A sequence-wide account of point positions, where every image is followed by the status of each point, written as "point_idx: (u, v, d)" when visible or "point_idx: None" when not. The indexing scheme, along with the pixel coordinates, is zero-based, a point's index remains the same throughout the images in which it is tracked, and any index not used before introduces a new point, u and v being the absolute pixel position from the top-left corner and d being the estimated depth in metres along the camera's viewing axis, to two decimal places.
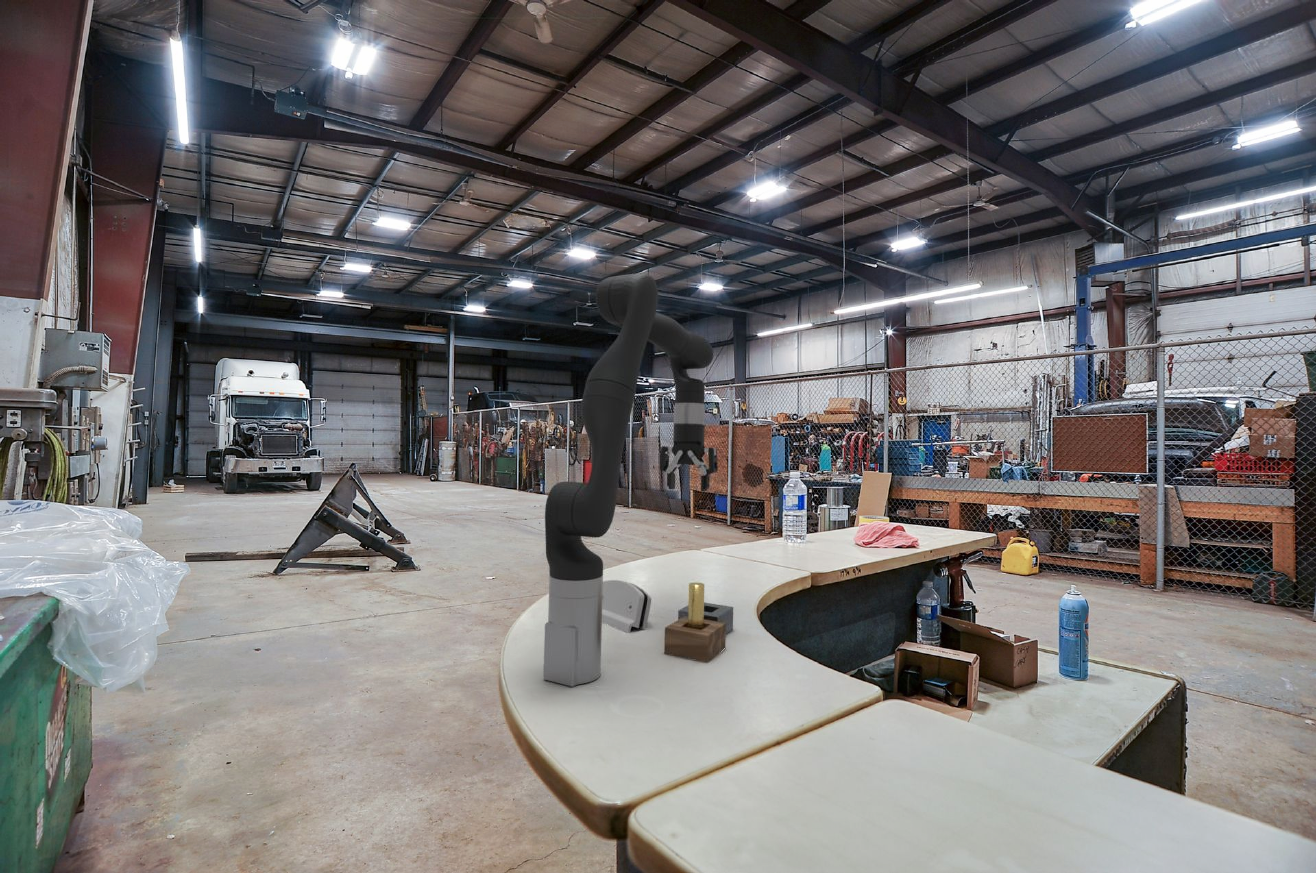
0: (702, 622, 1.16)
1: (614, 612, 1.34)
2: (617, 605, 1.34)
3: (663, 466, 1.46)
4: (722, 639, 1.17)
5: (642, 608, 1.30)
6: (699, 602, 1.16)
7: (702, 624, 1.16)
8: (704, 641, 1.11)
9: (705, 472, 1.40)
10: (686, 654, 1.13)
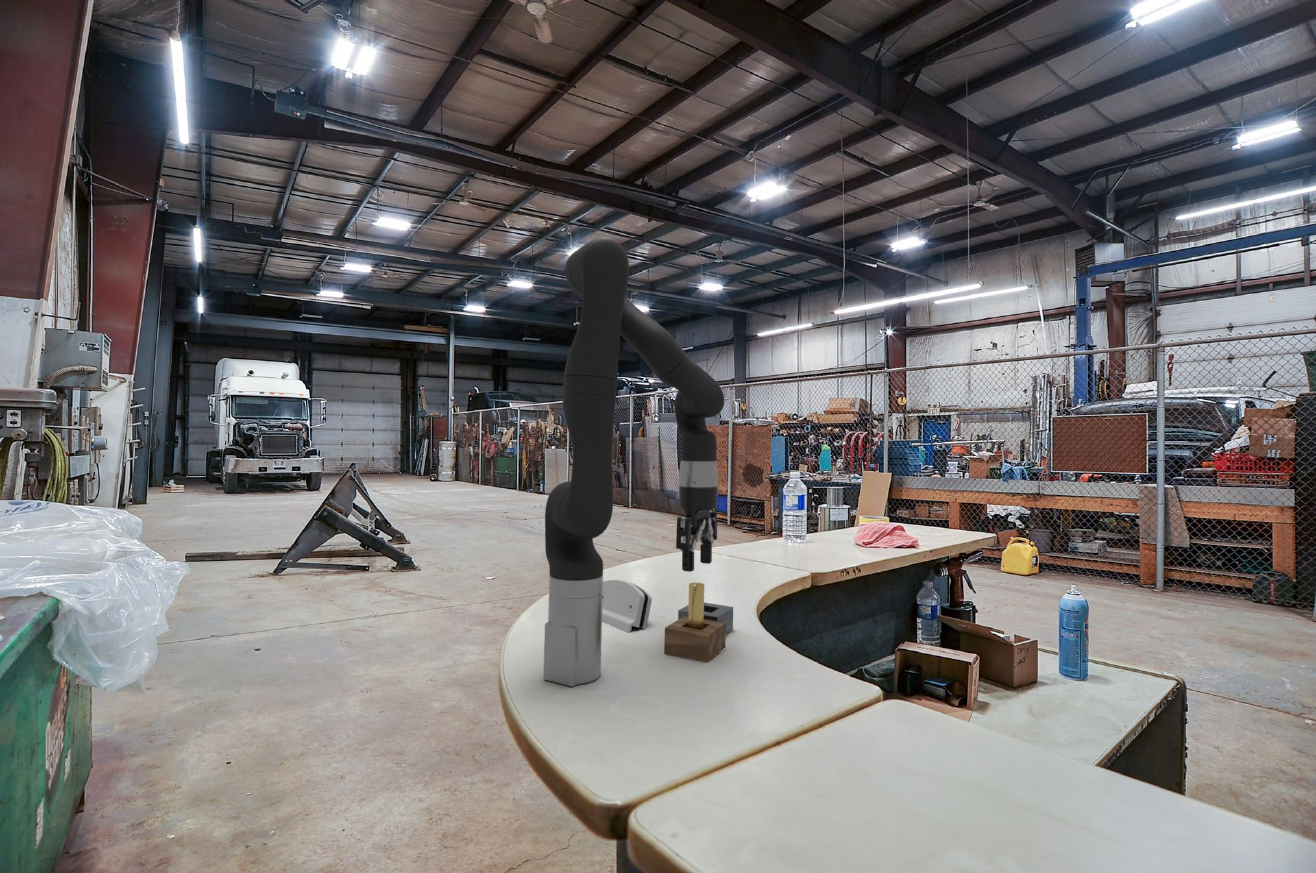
0: (702, 622, 1.16)
1: (614, 612, 1.34)
2: (617, 605, 1.34)
3: (689, 544, 1.11)
4: (722, 639, 1.17)
5: (642, 608, 1.31)
6: (699, 602, 1.16)
7: (702, 624, 1.16)
8: (704, 641, 1.11)
9: None
10: (686, 654, 1.13)
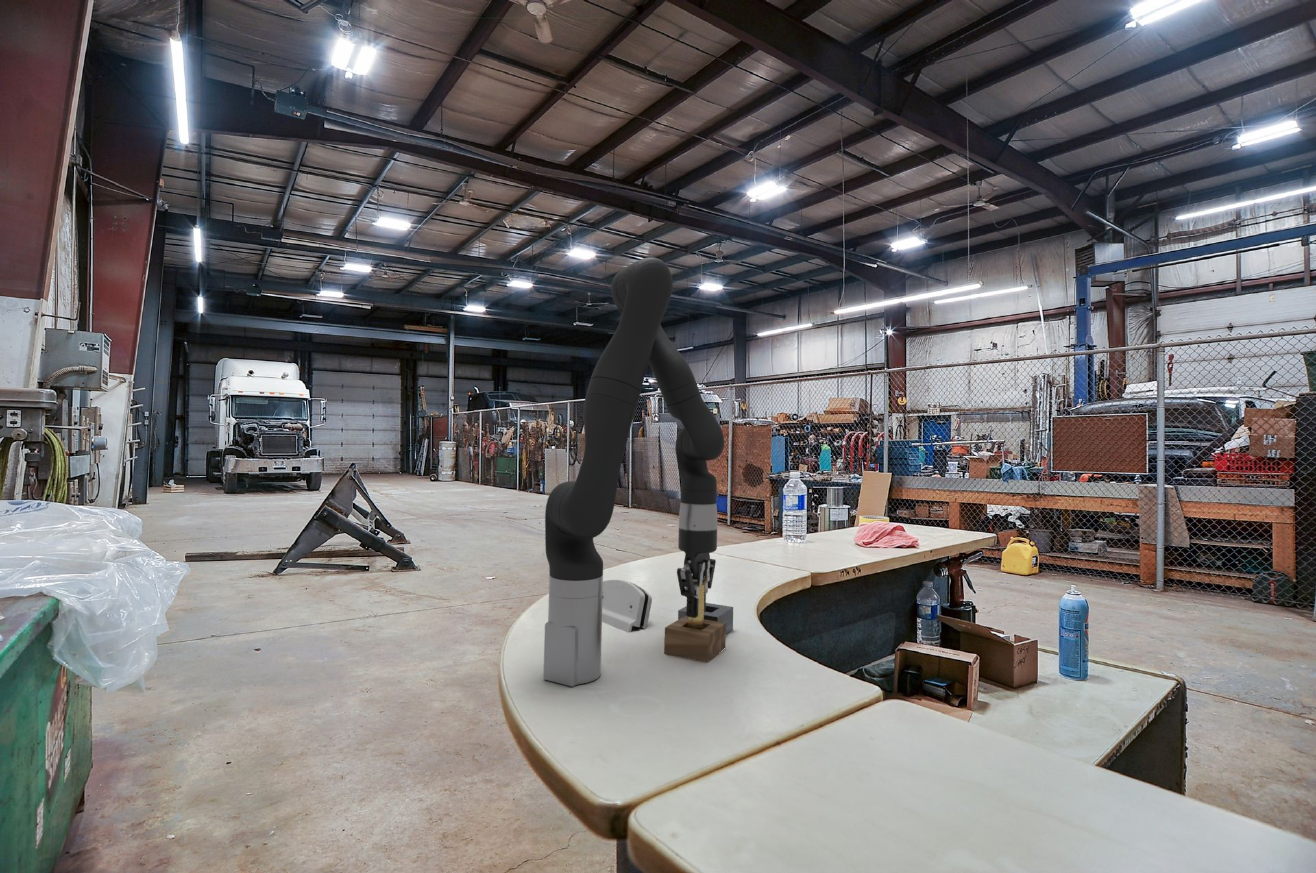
0: (702, 622, 1.16)
1: (615, 612, 1.34)
2: (618, 605, 1.34)
3: (694, 591, 1.13)
4: (722, 639, 1.17)
5: (643, 607, 1.31)
6: (699, 602, 1.16)
7: (702, 624, 1.16)
8: (704, 641, 1.11)
9: None
10: (686, 654, 1.13)
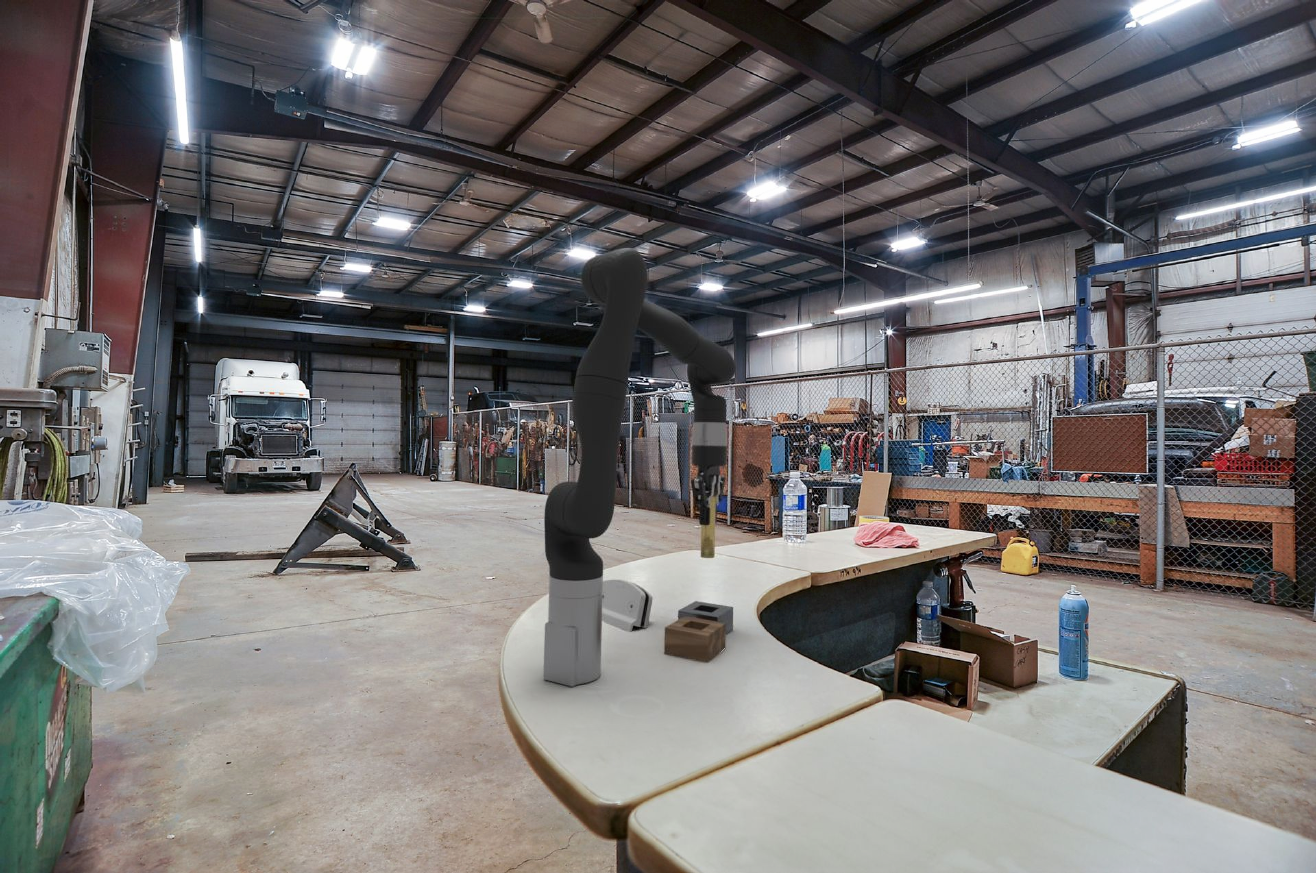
0: (714, 530, 1.28)
1: (615, 612, 1.34)
2: (618, 604, 1.35)
3: (706, 500, 1.25)
4: (722, 639, 1.17)
5: (643, 607, 1.31)
6: (711, 512, 1.28)
7: (714, 532, 1.28)
8: (704, 641, 1.11)
9: None
10: (686, 654, 1.13)
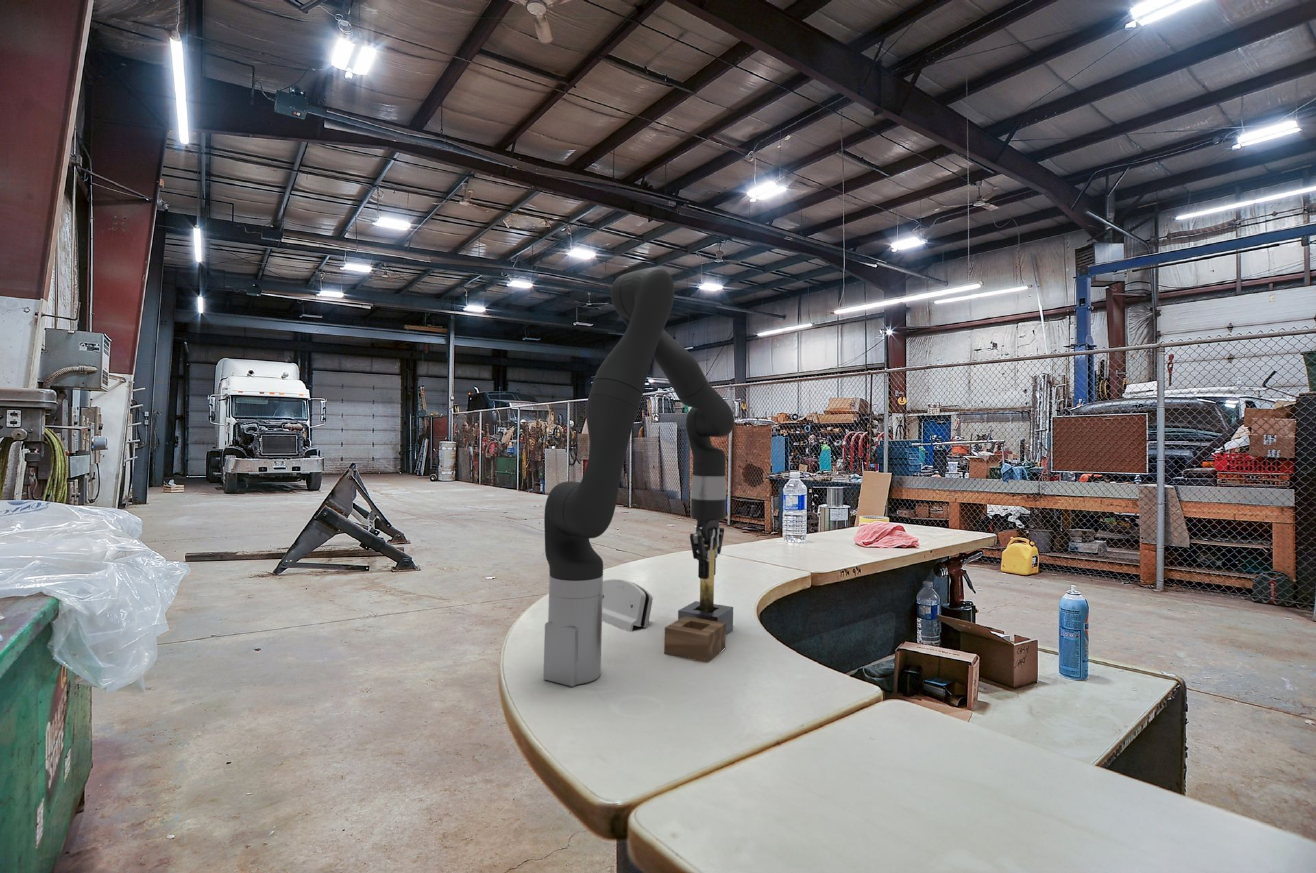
0: (713, 583, 1.28)
1: (615, 611, 1.35)
2: (618, 604, 1.35)
3: (705, 554, 1.25)
4: (722, 639, 1.17)
5: (644, 607, 1.31)
6: (710, 565, 1.28)
7: (713, 585, 1.28)
8: (704, 641, 1.11)
9: (717, 554, 1.31)
10: (686, 654, 1.13)
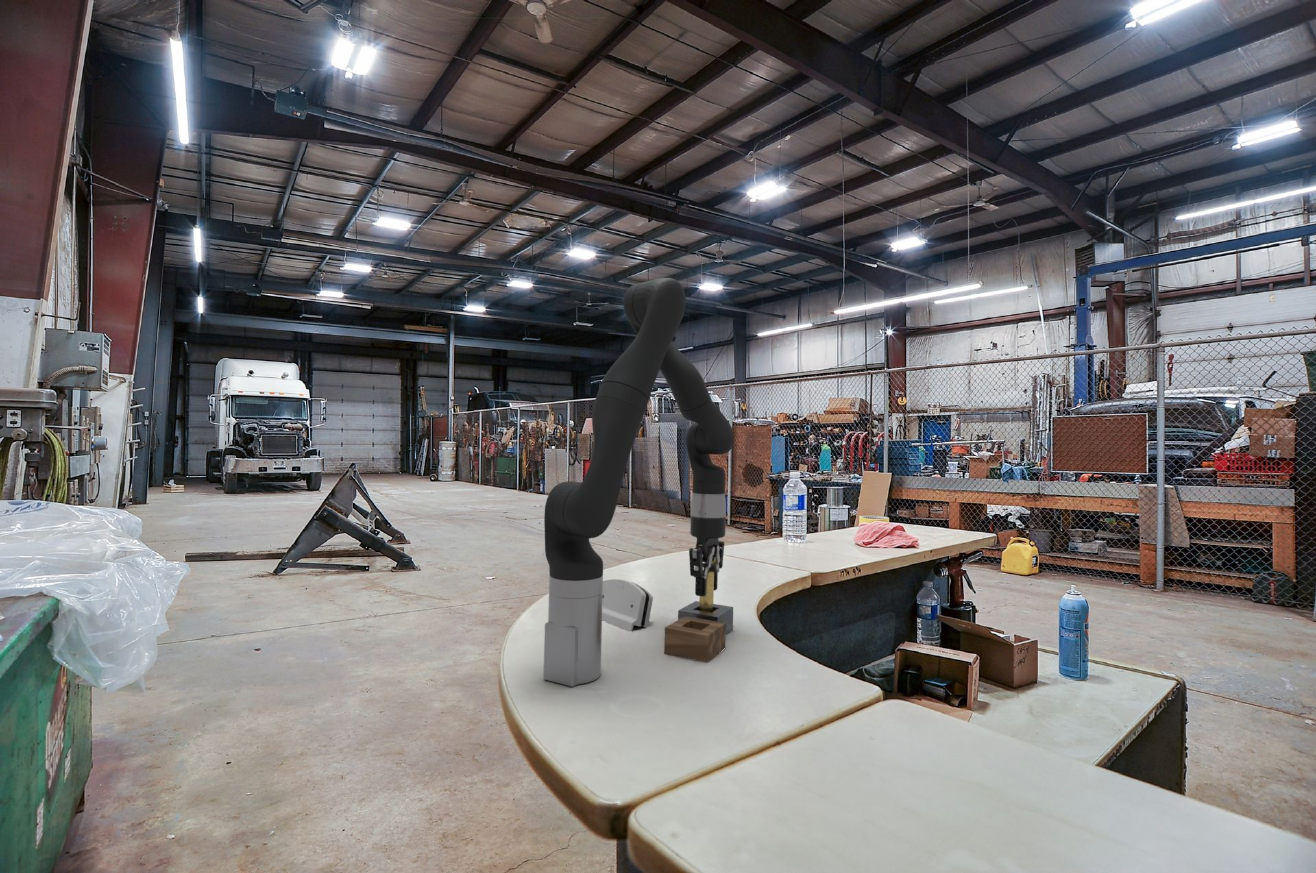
0: (712, 606, 1.28)
1: (615, 611, 1.35)
2: (618, 604, 1.35)
3: (702, 572, 1.24)
4: (722, 639, 1.17)
5: (644, 607, 1.31)
6: (710, 588, 1.28)
7: (712, 607, 1.28)
8: (704, 641, 1.11)
9: (719, 569, 1.32)
10: (686, 654, 1.13)
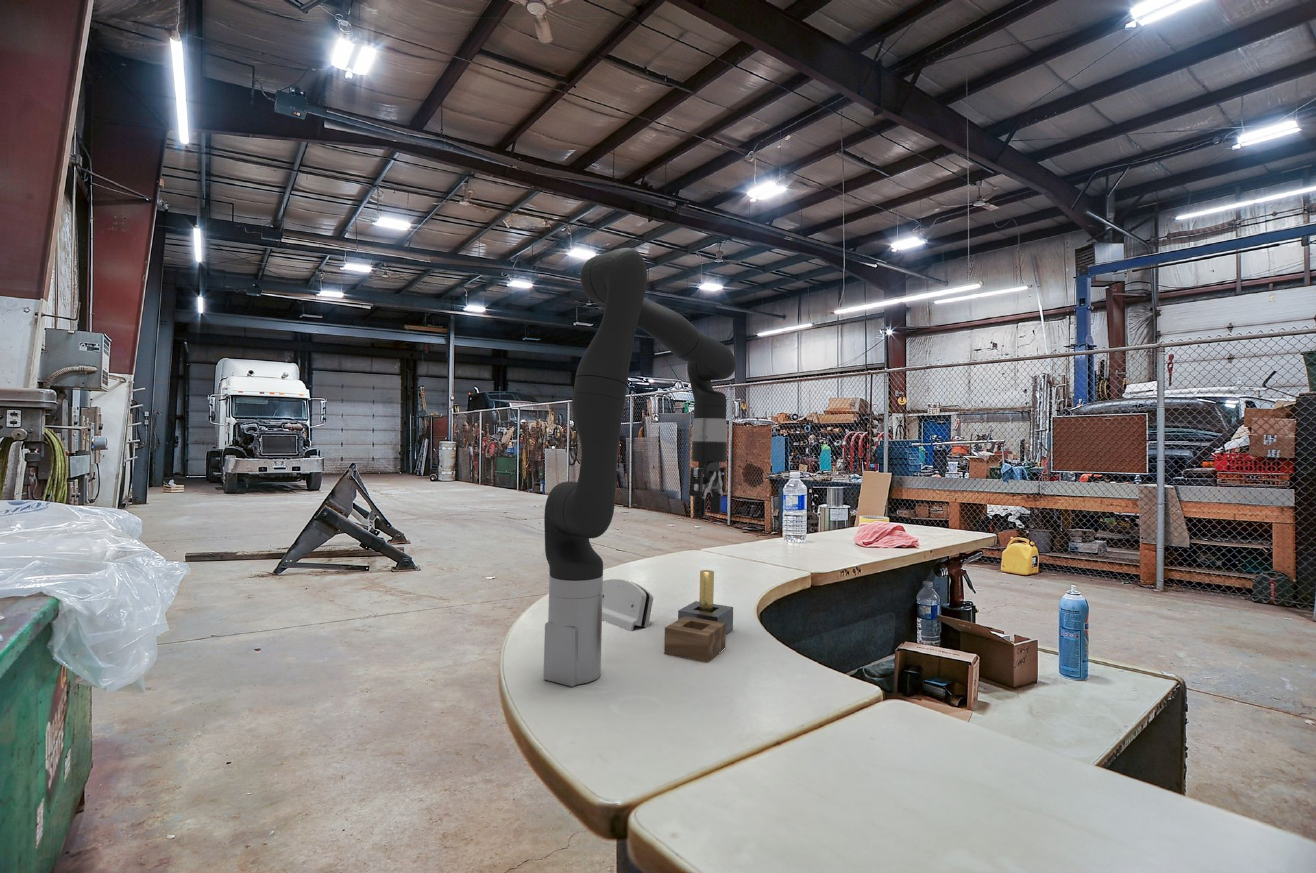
0: (712, 606, 1.28)
1: (616, 611, 1.35)
2: (619, 604, 1.35)
3: (701, 491, 1.23)
4: (722, 639, 1.17)
5: (644, 607, 1.32)
6: (710, 588, 1.28)
7: (712, 607, 1.28)
8: (704, 641, 1.11)
9: None
10: (686, 654, 1.13)
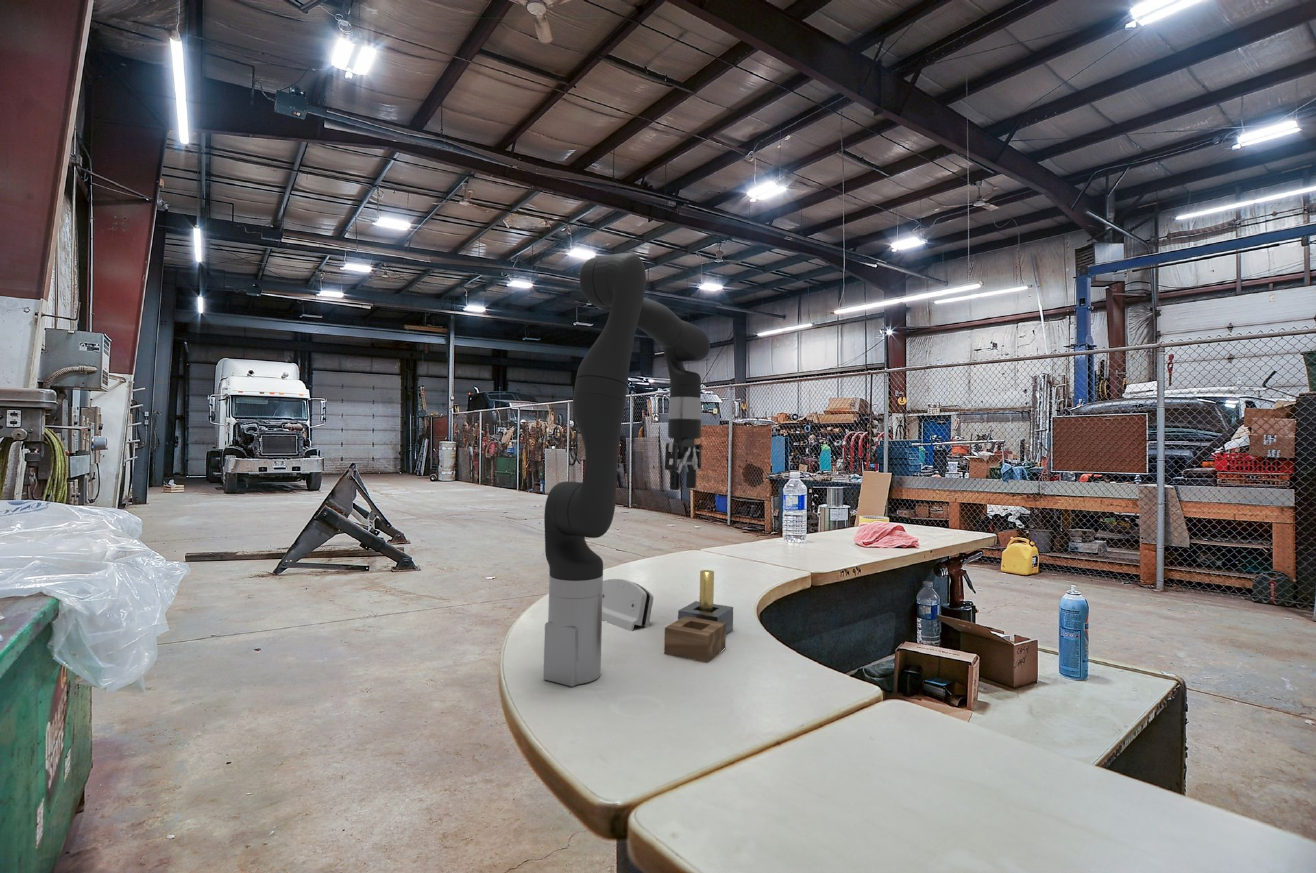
0: (712, 606, 1.28)
1: (616, 611, 1.35)
2: (619, 604, 1.35)
3: (676, 465, 1.31)
4: (722, 639, 1.17)
5: (644, 606, 1.32)
6: (710, 588, 1.28)
7: (712, 607, 1.28)
8: (704, 641, 1.11)
9: (697, 468, 1.40)
10: (686, 654, 1.13)
